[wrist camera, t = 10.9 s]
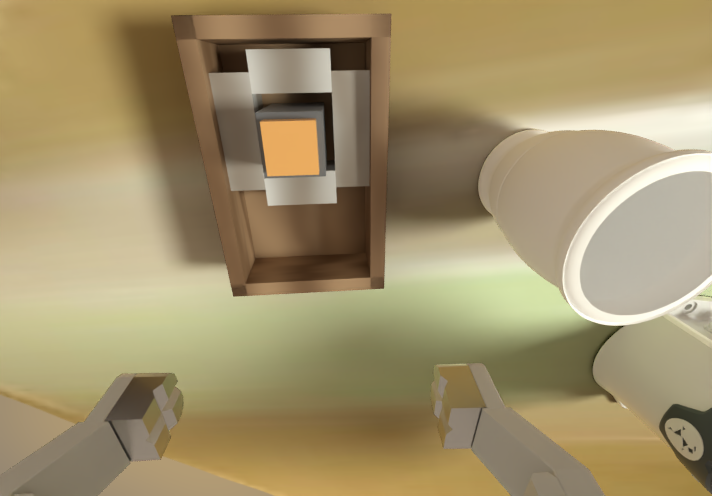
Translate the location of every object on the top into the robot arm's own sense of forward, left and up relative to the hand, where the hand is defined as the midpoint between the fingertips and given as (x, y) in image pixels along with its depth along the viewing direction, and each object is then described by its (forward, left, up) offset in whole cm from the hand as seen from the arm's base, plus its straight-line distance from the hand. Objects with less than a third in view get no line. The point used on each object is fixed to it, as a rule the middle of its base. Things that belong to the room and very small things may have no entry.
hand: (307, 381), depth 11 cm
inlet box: (+1, -2, -22) cm, 22 cm away
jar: (-19, 0, -23) cm, 29 cm away
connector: (+1, -5, -21) cm, 22 cm away
